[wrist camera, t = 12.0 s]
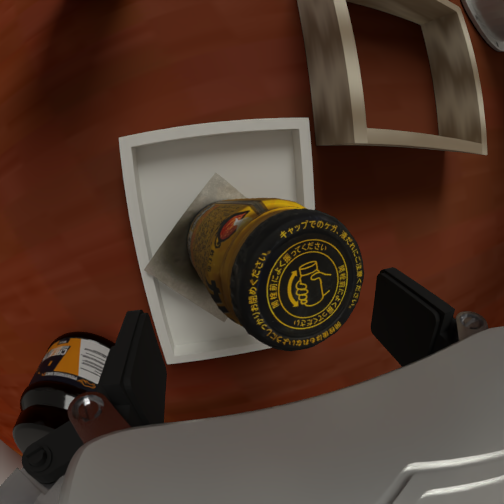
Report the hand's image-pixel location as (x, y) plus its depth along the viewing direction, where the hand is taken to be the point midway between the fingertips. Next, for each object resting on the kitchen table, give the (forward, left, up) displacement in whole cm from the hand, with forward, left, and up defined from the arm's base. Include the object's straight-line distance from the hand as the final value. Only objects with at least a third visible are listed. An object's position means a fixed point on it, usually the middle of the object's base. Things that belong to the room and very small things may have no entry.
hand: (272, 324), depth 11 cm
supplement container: (+11, -15, -13) cm, 23 cm away
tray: (0, 0, -13) cm, 13 cm away
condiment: (0, -1, -11) cm, 11 cm away
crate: (-15, +16, -13) cm, 25 cm away
